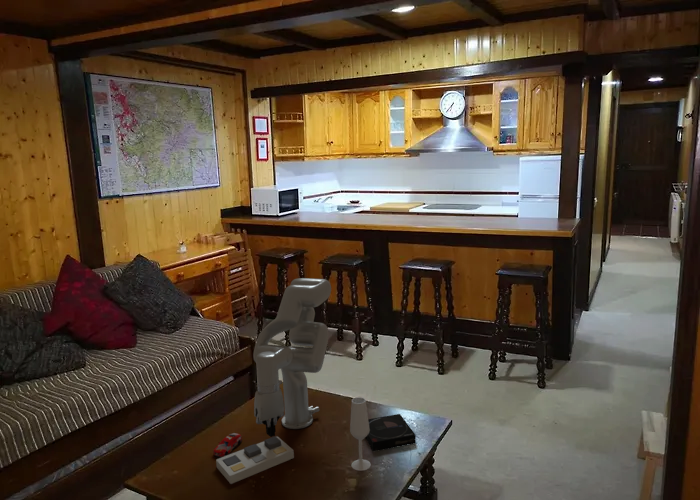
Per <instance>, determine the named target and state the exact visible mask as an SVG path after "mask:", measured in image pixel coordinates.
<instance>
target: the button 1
mask: <svg viewBox="0 0 700 500" xmlns="http://www.w3.org/2000/svg"><path fill="white" fill-rule="evenodd" d="M223 462H224V463H225V464H226V465H227V466H230V465H233V464H236V463H238V462H240V460H239V459H238V458H237V457H236V456H235V455H234V456H232V457H229V458H226V459H224V460H223Z"/></svg>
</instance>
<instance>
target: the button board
mask: <svg viewBox="0 0 700 500" xmlns="http://www.w3.org/2000/svg"><path fill="white" fill-rule="evenodd" d="M276 437H277V438H278V439H279V440H280V441H281V446H279V447H276V448H274V449H271V450H269V449H268V448H267V447H266V446H265V443H264V441H261V442H258V443H255V444H256V445H257V446H258V447H259V448H260V449H261V454H258V455H256V456H253V457H251V458H249V457H248V456H247V455H246V454H245V453H244V448H242V449H240V450H238V451H235V452H232V453H229V454H228V455H227V456H224V457H218V458H217V459H215V461H216V462H215V464H216V468H217V470H218V471H219V472H220V473H221V474H222V476H224V478H225V479H226V480H227V482H229V484H230V485H233V484H235V483H237V482H239V481H241V480H242V481H243V480H244V479H246V478H249V477H251V476H254V475H257V474H258V473H261V472H263V471H266V470H268V469H270V468H272V467H276V466H277V465H281V464H283V463H285V462H287V461H290V460H291V459H294V458H295V453H294V449H293V448H292V447H290V446H289V445H288V444H287V443H286V442H285V441H284V440H282V439H281V438H280V437H279V436H278V435H276ZM234 455H235V456H236V457H237V458H238V459H239V460H240V462H238V463H236V464H233V465H230V466H227V465H226V464H225V463H224V462H223V460H224V459H226V458H229V457H232V456H234Z"/></svg>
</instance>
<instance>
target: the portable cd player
mask: <svg viewBox="0 0 700 500" xmlns="http://www.w3.org/2000/svg"><path fill="white" fill-rule="evenodd" d="M368 421H369V429H370V431H369V434H368V435H367V436H366V437H365V438H364V439H365V440H366V442H367V443H368V445H369V447H370V449H371V450H372V452H379V451H383V449H384V450H387V449H388V448H389V449H394V448H398V447H397V446H400V447H403V446H402V445H405V446H408V445H407V444H410V445H414V444H413V443H417V441H416V440H417V439H416V433H415V432H414V430H413V429H412V428H411V426H409V424H408V422H407V421H406V419H404V417H403V416H402V414H401V413H397V414H390V415H385V416H384V415H383V416H380V417H373V418H368ZM393 447H394V448H393ZM378 450H379V451H378Z"/></svg>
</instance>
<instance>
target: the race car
mask: <svg viewBox="0 0 700 500" xmlns="http://www.w3.org/2000/svg"><path fill="white" fill-rule="evenodd" d="M242 441H243V437H242V435H241V434H240V433H237V432H236V433H235V432H233V433H229V434H228V435H226V436H225V437H224V438H222V440H221V441H220V442H218V444H217V446H216V447H215V448H213V451H212V452H213V455H214V456H215V457H217V458H222V457H224V456H227V455H229V454H231V452H232V451H233V450H234V449H235V448H237V447H238V446H239V445H241V443H242Z"/></svg>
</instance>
